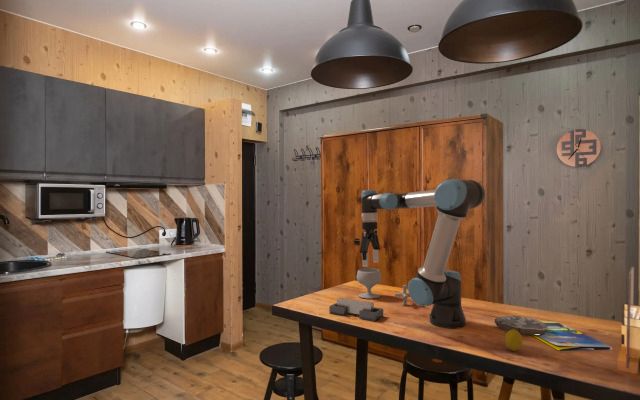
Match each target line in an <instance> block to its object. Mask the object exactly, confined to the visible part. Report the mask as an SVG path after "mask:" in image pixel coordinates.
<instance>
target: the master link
mask: <svg viewBox="0 0 640 400" xmlns="http://www.w3.org/2000/svg"><path fill="white" fill-rule="evenodd" d="M336 303H337V306H339V307H345V308H346V312H347V313H349V314H355V315H359V311H360V310H364V311H370V312H374V307H375V306H374V305H375V302H372V301H371V302H370V301H364V300H357V299H351V298H344V297H339V298H337V299H336Z"/></svg>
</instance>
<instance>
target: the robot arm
mask: <svg viewBox="0 0 640 400" xmlns="http://www.w3.org/2000/svg"><path fill="white" fill-rule="evenodd" d="M485 197H486V192H485V189H484V186H483V185H482V184H481V183H480V182H478V181H476V180H473V179H457V178H452V179H451V178H450V179H446V180H443V181H441V183H439V184H438V186H437V187H436V189H429V190H421V191H420V190H419V191H413V192H412V191H411V192H404V193H403V192H402V193H393V192H391V193H390V192H384V193H377V190H375V189H367V190H366V189H365V190H362V191H361V199H360V201H361V215H360V216H361V220H362V222H361V229H362V230H365V231H362V232H361V242H360V249H359V253H360V254H361V260H362V261H361V262H362V264H361V266H362V267H363V268H369V253H368V252H369V246H370V244H371V246H372V263H377V264H378V263H379V251H380V250H381V246H380V240H379V237H378V222H377V221H378V210H386V211H387V210H399V209H400V210H401V209H403V210H407V209H412V208H413V209H414V208H415V209H416V208H428V207H429V208H430V207H435V210H436V211H437V215H438V216H437V218H436V221H435V225H434V229H433V232H432V236H431V238H430V243H429V245H428V248H427V249H428V250H427V252H426V256H425V259H424V261H423V266H422V267H419V268H418V270H417V273H416V276H415V277H413V278H412V279H410V280H409V282H408V284H407V293H409V295H410V297H409V298H410V299H411V300H412V301H413V303H415V304H417V305H418V306H420V307H426V306H427V307H428V306H431V305H432V308H431V311H430V314H429V323H431V324H432V326H433V325H434V326H436V327H440V328H447V329H458V328H463V327H465V326H466V325H467V324H466V322H467V319H466V315H465V313H464V310H463V307H462V276H461V273H460V272H459V271H456V270H449V269H447V265H448V262H449V258H450V257H451V256H450V255H451V251H452V249H453V246H454V242H455V239H456V236H457V232H458V230H459V226H460V223H461V221H462V220H465V219H466V218H467V215H468V213H469V210H472V209H476V208H477V207H480V205H482V204H483V202H484V200H485Z"/></svg>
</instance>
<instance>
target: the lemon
mask: <svg viewBox="0 0 640 400" xmlns="http://www.w3.org/2000/svg"><path fill="white" fill-rule="evenodd" d="M504 341H505V345H506V346H507V348H508V349H509V350H511V351H512V352H515V351H518V350H521V348H522V346H523V336H522V334H520V333H519V332H518V331H516V330H515V329H512V330H509V331H506V332H505V336H504Z"/></svg>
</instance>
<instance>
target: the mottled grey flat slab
mask: <svg viewBox="0 0 640 400" xmlns="http://www.w3.org/2000/svg"><path fill="white" fill-rule="evenodd" d="M494 323H495V325H496V326H497V328H499V329H500V330H502V329H503V330H504V331H506V332H508V331H509V330H512V329H515V330H516V331H518V332H519V333H520V334H521V335H524V336H526V335H527V336H528V335H529V336H532V335H531V334H542V335H544V333H545V332H547V329H548V327H549V325H548V324H546V323H544V322H542V321H541V320H538V319H536V318H532V317H527V316H524V317H522V316H519V315H505V316H499V317H495V318H494ZM503 330H502V331H503Z"/></svg>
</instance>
